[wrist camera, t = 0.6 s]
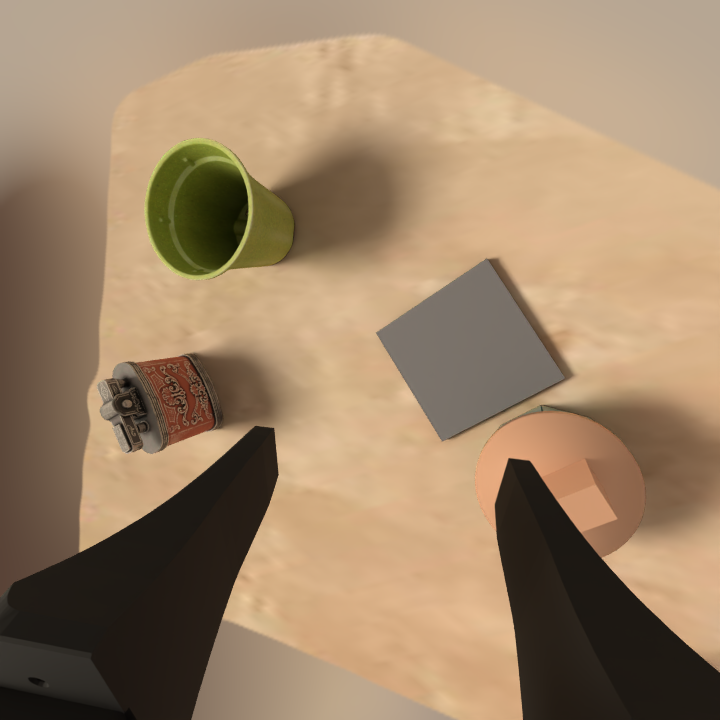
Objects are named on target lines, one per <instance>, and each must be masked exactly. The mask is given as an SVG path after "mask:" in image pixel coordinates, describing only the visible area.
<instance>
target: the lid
mask: <svg viewBox="0 0 720 720" xmlns="http://www.w3.org/2000/svg"><path fill="white" fill-rule="evenodd" d="M508 458H513V459H521V460H529V461H531V463H532V464H533V465H534V467H535V468H536V470H537V471H538V473H539V475H540V476H541V478H542V479H543V481H544V482H545V484H546V485H547V487H548V488H549V489H550V491H551V492H552V494H553V495H554V497H555V498H556V500H557V501H558V503H559V504H560V505H561V507H562V508H563V510H564V511H565V512H566V514H567V515H568V516H569V518H570V519H571V520H572V522H573V523H574V524H575V526H576V527H577V529H578V530H579V531H580V532H581V534H582V535H583V536H584V538H585V539H586V540H587V541H588V543H589V544H590V545H591V546H592V547H593V549H594V550H595V551H596V552H597V554H598V555H599V556H600V557H601V558H602V557H604V556H606V555H609V554H610V553H612V552H614V551H616V550H617V549H619V548H620V547H621V546H622V545H624V544H625V543H626V542H627V541H628V540H629V539H630V538H631V537H632V535H633V534H634V532H635V531H636V529H637V528H638V526H639V524H640V522H641V520H642V517H643V513H644V510H645V502H646V491H645V484H644V480H643V476H642V473H641V471H640V468H639V466H638V464H637V462H636V460H635V459H634V457H633V456H632V454H631V453H630V452H629V450H628V449H627V448H626V446H625V445H624V444H623V443H622V442H621V441H620V440H619V439H618V437H617V436H616V435H614V434H613V433H612V432H610V431H609V430H608V429H607V428H605V427H603V426H602V425H600V424H599V423H597V422H595V421H593V420H590V419H588V418H586V417H583V416H580V415H577V414H573V413H568V412H561V411H540V412H534V413H529V414H526V415H522V416H520V417H517V418H515V419H513V420H511V421H509V422H507V423H506V424H504V425H503V426H502V427H500V428H499V429H498V430H497V431H496V432H495V433H494V434H493V435H492V436H491V437H490V438H489V440H488V441H487V442H486V444H485V446H484V448H483V450H482V451H481V454H480V457H479V460H478V463H477V468H476V474H475V486H476V493H477V497H478V501H479V504H480V507H481V509H482V511H483V513H484V515H485V517H486V518H487V520H488V521H489V523H490V524H491V526H492V527H493V528H494V529H495V530H496V519H495V501H496V498H497V495H498V491H499V488H500V485H501V481H502V478H503V475H504V471H505V468H506V465H507V461H508Z"/></svg>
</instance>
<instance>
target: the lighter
mask: <svg viewBox="0 0 720 720" xmlns="http://www.w3.org/2000/svg"><path fill="white" fill-rule="evenodd" d="M112 376H113V378H112V379H106V380H101V381H100V382H98V384H97V389H98V391H99V394H100V396H101V399H102V401H103V406H102V407H101V408H100V413H101V416H102V417H103V418H104V419H105V420H109V421H110V422H111V423H112V425H113V431H114V433H115V435H116V438H117V440H118V443H119V445H120V447H121V450H122V452H125V453H126V454H129V453H132V452H134V451H137V450H140V449H143V450H144V451H145V452H147V453H150V454H153V453H156V452H159V451H161V450H163V449H165V448H166V447H167V446H169V445H171V444H174V443H176V442H179V441H182V440H184V439H187V438H189V437H192V436H195V435H197V434H200V433H202V432H209V431H212V430H215V429H217V428H219V427H220V426H221V424H222V421H223V415H222V412H221V408H220V404H219V400H218V398H217V395H216V392H215V389H214V387H213V384H212V382H211V380H210V378H209V376H208V374H207V372H206V370H205V369H204V367H203V366H202V364H201V362H200V361H199V359H198V358H197V357H196V356H195V355H193V354H182V355H179V356H178V357H174V358H167V359H159V360H152V361H145V362H138V363H135V362H123V363H119V364H118V365H117V366H116V367H115V368H114V370H113V375H112Z"/></svg>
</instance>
